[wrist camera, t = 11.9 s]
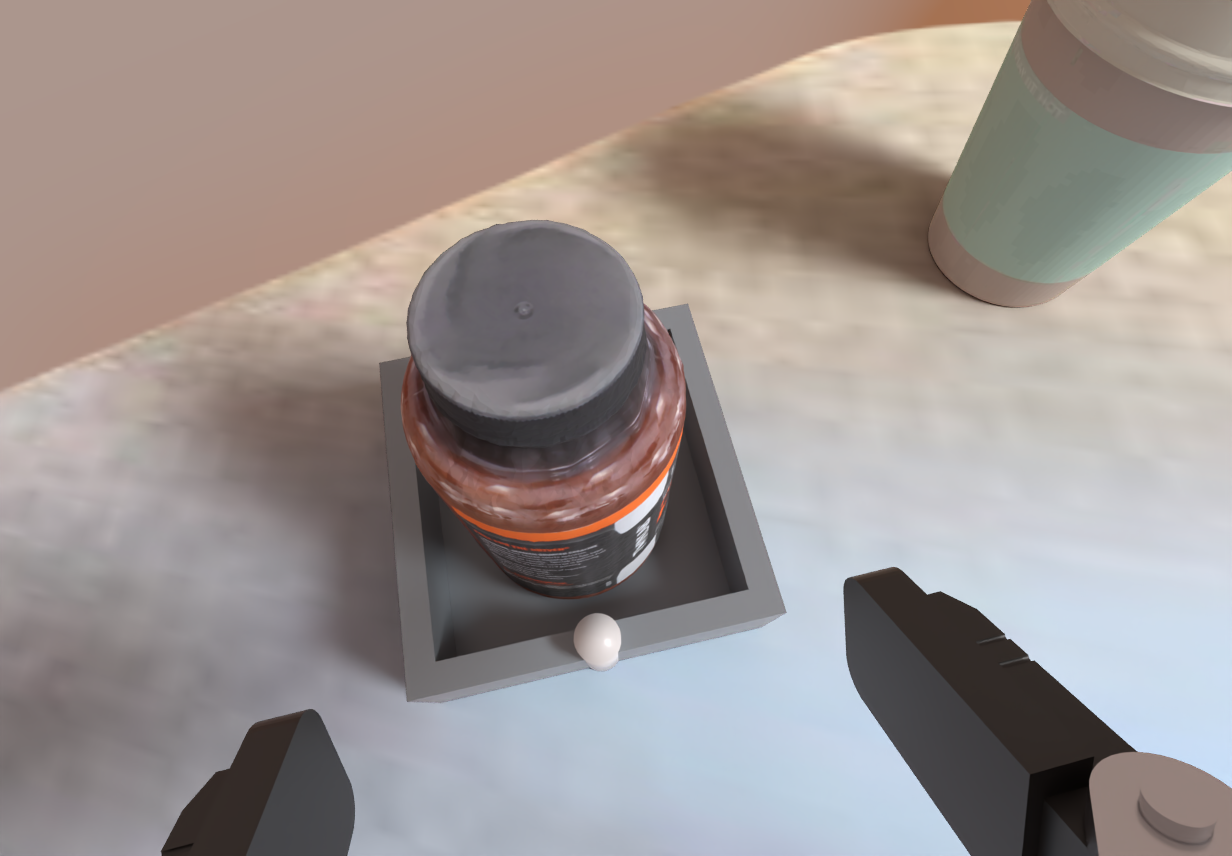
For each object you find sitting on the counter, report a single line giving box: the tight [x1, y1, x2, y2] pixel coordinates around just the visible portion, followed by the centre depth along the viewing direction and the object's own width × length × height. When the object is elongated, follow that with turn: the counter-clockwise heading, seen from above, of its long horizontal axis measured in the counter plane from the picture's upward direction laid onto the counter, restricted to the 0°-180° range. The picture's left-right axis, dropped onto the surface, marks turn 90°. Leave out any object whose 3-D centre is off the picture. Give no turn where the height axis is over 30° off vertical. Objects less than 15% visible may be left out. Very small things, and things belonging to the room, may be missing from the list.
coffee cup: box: [928, 0, 1232, 307], centre depth 20 cm, size 9×9×12 cm
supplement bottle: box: [401, 220, 686, 599], centre depth 16 cm, size 6×6×11 cm
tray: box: [379, 304, 786, 703], centre depth 20 cm, size 10×10×4 cm
